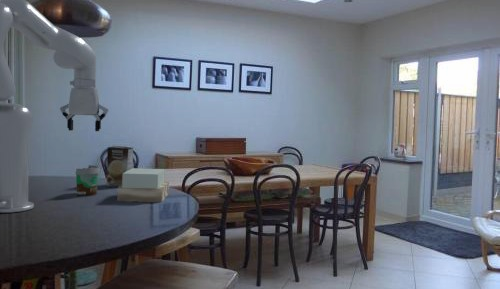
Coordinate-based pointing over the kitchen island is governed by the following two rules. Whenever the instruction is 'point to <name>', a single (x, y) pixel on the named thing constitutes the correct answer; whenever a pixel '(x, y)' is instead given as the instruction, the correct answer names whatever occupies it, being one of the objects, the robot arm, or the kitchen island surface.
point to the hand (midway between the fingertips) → (84, 130)
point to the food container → (87, 180)
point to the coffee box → (118, 164)
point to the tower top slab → (143, 178)
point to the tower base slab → (143, 194)
